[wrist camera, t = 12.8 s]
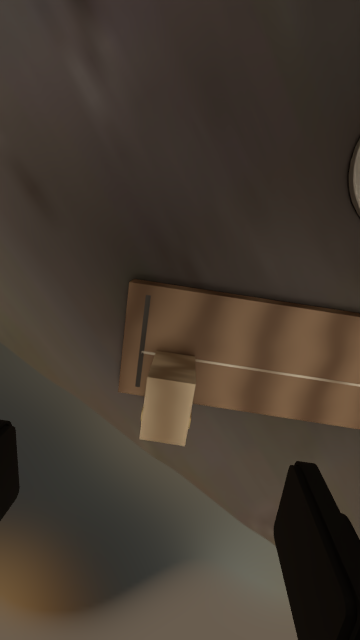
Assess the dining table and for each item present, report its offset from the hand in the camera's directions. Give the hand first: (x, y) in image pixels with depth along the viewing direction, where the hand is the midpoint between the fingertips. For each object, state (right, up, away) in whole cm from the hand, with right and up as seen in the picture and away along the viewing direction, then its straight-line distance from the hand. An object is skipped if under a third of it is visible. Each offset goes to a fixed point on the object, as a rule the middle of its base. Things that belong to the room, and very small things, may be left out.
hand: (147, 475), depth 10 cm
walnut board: (+10, +2, +22) cm, 25 cm away
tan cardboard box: (0, -1, +23) cm, 23 cm away
